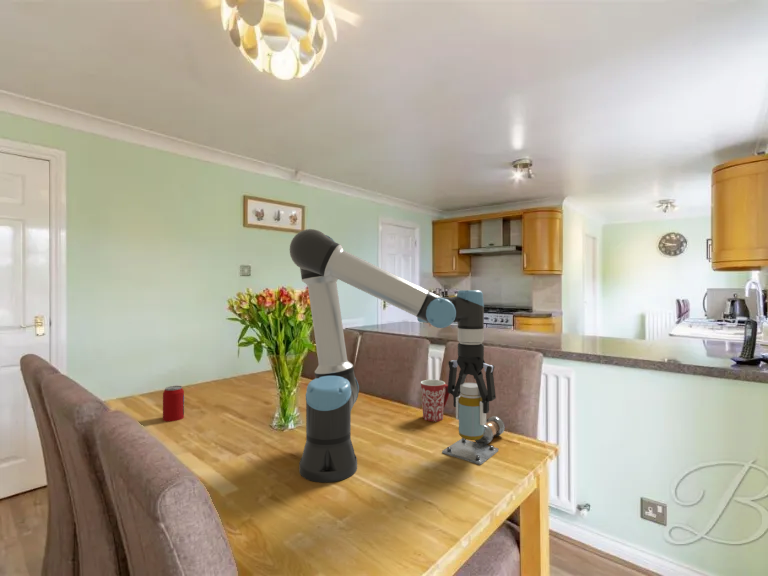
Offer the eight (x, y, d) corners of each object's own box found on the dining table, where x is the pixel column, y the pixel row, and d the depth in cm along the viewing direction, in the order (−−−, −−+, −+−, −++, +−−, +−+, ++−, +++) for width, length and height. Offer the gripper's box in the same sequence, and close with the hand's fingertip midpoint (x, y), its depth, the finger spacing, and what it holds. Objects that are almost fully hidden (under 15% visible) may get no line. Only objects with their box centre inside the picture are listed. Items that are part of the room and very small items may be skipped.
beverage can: (187, 417, 146) (187, 385, 146) (176, 424, 140) (176, 390, 140) (170, 417, 147) (170, 385, 147) (158, 423, 140) (158, 389, 140)
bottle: (485, 440, 112) (485, 388, 112) (461, 440, 113) (461, 388, 113) (480, 432, 119) (480, 382, 119) (457, 431, 120) (457, 382, 120)
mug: (432, 424, 139) (432, 386, 139) (415, 417, 147) (415, 381, 147) (457, 418, 147) (457, 381, 147) (440, 411, 154) (440, 377, 154)
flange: (480, 465, 108) (480, 443, 108) (442, 453, 115) (442, 432, 115) (513, 439, 126) (513, 420, 126) (478, 430, 134) (478, 412, 134)
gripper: (508, 344, 113) (508, 424, 113) (447, 338, 125) (447, 411, 125) (497, 347, 107) (498, 432, 107) (434, 341, 119) (435, 417, 119)
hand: (470, 420), depth 116 cm, fingers closed on bottle, 7 cm apart
